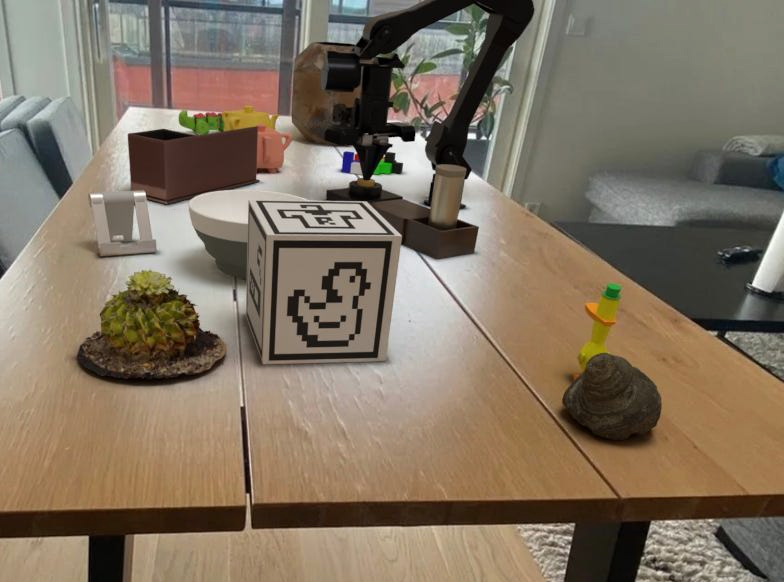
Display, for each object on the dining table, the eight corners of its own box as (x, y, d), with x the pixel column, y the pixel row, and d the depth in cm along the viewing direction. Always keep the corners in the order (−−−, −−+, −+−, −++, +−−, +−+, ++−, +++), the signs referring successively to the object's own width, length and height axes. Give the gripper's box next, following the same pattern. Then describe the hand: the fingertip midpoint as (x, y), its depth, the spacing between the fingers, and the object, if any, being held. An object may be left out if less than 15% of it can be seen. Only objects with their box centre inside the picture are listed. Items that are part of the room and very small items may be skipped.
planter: (317, 130, 228) (323, 38, 214) (387, 144, 216) (398, 48, 203) (271, 138, 212) (274, 40, 199) (344, 153, 201) (353, 50, 188)
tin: (439, 241, 136) (451, 163, 129) (459, 248, 133) (472, 169, 126) (418, 244, 134) (429, 165, 127) (437, 252, 130) (450, 171, 123)
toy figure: (557, 368, 94) (582, 272, 87) (584, 368, 94) (612, 273, 88) (580, 393, 88) (610, 293, 82) (609, 393, 89) (641, 293, 82)
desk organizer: (127, 194, 151) (123, 132, 145) (222, 174, 172) (222, 119, 166) (166, 205, 146) (164, 141, 140) (259, 182, 167) (261, 126, 161)
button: (366, 186, 157) (367, 177, 156) (377, 190, 155) (378, 181, 154) (352, 187, 155) (353, 178, 154) (363, 191, 153) (364, 182, 152)
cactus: (91, 394, 81) (82, 306, 75) (66, 336, 93) (57, 256, 87) (245, 374, 87) (247, 291, 82) (203, 322, 99) (203, 247, 94)
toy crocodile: (243, 131, 219) (243, 108, 216) (251, 135, 214) (251, 111, 211) (175, 131, 212) (175, 107, 208) (182, 136, 207) (182, 111, 203)
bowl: (218, 297, 107) (218, 228, 102) (171, 255, 121) (169, 192, 116) (339, 283, 115) (345, 218, 110) (282, 245, 129) (285, 186, 124)
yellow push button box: (371, 196, 163) (373, 176, 161) (401, 207, 156) (404, 187, 154) (325, 201, 157) (327, 180, 155) (355, 213, 150) (357, 192, 148)
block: (262, 364, 90) (267, 235, 81) (245, 316, 102) (248, 199, 94) (385, 361, 93) (402, 236, 84) (354, 314, 105) (366, 201, 97)
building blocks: (394, 179, 178) (396, 159, 176) (341, 171, 181) (342, 152, 179) (407, 167, 190) (410, 149, 188) (358, 161, 193) (359, 142, 191)
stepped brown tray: (400, 223, 146) (403, 198, 144) (474, 253, 133) (479, 226, 130) (361, 228, 141) (363, 203, 139) (434, 259, 128) (438, 232, 126)
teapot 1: (273, 146, 203) (274, 103, 197) (279, 156, 193) (281, 111, 187) (221, 144, 201) (221, 101, 195) (225, 154, 190) (225, 108, 185)
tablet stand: (102, 258, 118) (97, 202, 113) (90, 243, 124) (86, 189, 119) (156, 254, 121) (154, 199, 117) (143, 239, 127) (140, 187, 122)
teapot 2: (251, 162, 185) (252, 118, 179) (293, 170, 180) (295, 125, 175) (223, 169, 176) (223, 123, 171) (267, 177, 171) (269, 130, 166)
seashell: (534, 348, 83) (567, 389, 74) (638, 294, 80) (685, 330, 72) (567, 427, 89) (601, 473, 80) (665, 379, 86) (712, 421, 78)
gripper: (386, 87, 155) (377, 168, 164) (310, 88, 146) (305, 174, 155) (422, 95, 148) (411, 180, 156) (345, 97, 139) (338, 187, 147)
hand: (366, 179), depth 154 cm, fingers closed, pressing on button
